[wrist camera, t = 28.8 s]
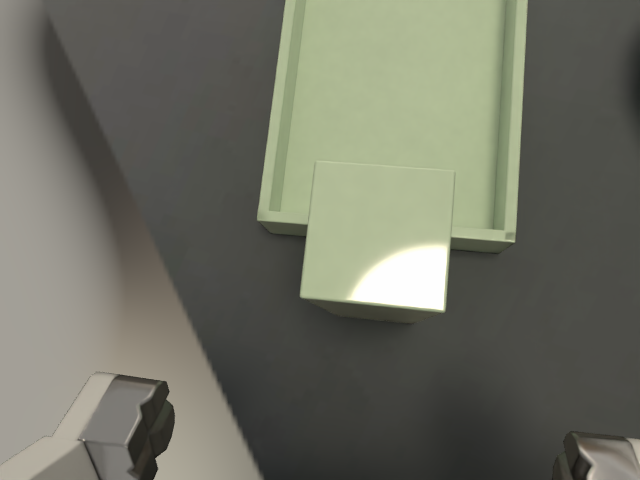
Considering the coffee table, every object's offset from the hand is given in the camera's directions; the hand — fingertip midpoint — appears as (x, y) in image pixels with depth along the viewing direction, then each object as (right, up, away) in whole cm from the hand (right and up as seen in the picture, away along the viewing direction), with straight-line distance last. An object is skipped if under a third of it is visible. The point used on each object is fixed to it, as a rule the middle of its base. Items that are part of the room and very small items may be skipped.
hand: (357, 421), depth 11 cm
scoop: (+2, +8, +11) cm, 13 cm away
